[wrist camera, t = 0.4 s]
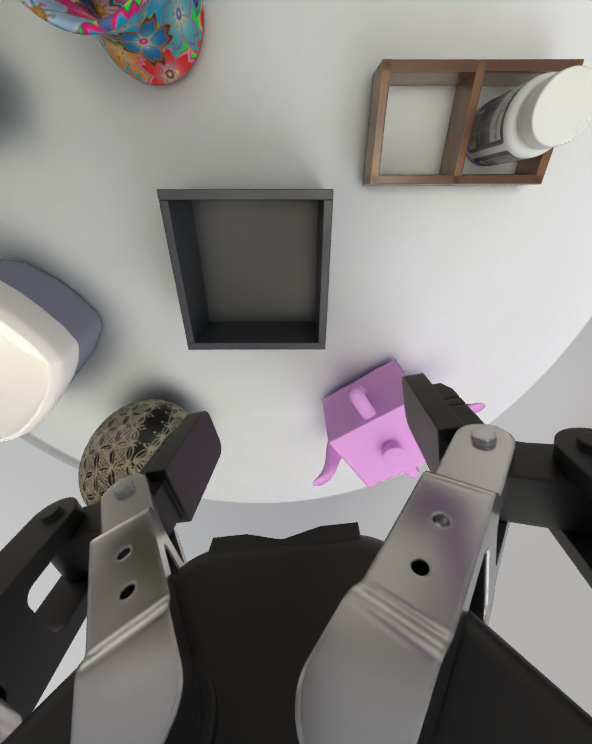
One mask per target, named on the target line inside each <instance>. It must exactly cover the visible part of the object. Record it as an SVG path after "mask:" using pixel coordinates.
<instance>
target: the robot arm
mask: <svg viewBox="0 0 592 744" xmlns="http://www.w3.org/2000/svg"><path fill="white" fill-rule="evenodd" d="M402 388H403V398H404V408H405V416H406V420H407V424H408V426H409V429H410V431H411V433H412V435H413V437H414V439H415V441H416V443H417V445H418V447H419V449H420V451H421V453H422V455H423V457H424V459H425V461H426V463H427V465H428V467H429V469H430V471H431V472H430V471H425V472H424V473H423V474H422V476H421V477H420V479H419V481H418V483H417V484H416V486H415V488H414V490H413V491H412V493H411V495H410V497H409V498H408V500H407V502H406V504H405V506H404V507H403V509H402V511H401V513H400V514H399V516H398V518H397V520H396V522H395V523H394V525H393V527H392V529H391V530H390V532H389V534H388V536H387V538H386V539H385V541H382V540H379V539H376V538H373V537H369V536H363V535H360V531H359V526H358V523H357V522H356V523H346V524H338V525H328V526H320V527H317V528H314V529H311V530H308V531H305V532H303V533H300V534H297V535H294V536H291V537H289V538H286V539H273V538H267V537H261V536H254V535H248V534H245V535H235V536H226V537H217V538H213V540H212V543H211V546H210V549H209V552H206V553H204V554H201V555H199V556H197V557H195V558H194V559H192V560H190V561H189V562H186V559H185V556H184V553H183V550H182V547H181V543H180V540H179V537H178V534H177V532H176V531H175V529H174V527H175V525H176V523H180V522H189V521H191V520H192V518H193V516H194V513H195V511H196V509H197V507H198V505H199V502H200V500H201V498H202V495H203V493H204V491H205V489H206V486H207V484H208V482H209V480H210V477H211V475H212V473H213V471H214V468H215V466H216V464H217V462H218V459H219V457H220V454H221V443H220V440H219V437H218V435H217V432H216V430H215V427H214V425H213V422H212V420H211V417H210V415H209V413H208V412H206V411H202V412H196V413H191V414H187V415H186V417H185V418H184V419H183V421H182V422H181V423H180V425H179V426H178V427H177V428H176V429H175V430H174V431H172V432H171V433H170V434H169V435H167V437H166V438H165V439H164V441H163V442H162V443H161V445H160V446H159V447H158V449H157V450H156V453H154V454H153V455H152V456H151V458H150V459H149V460H148V462H147V463H146V464H145V466H144V467H143V468H142V470H141V471H140V472H139V474H133V475H130V476H127V477H125V478H123V479H121V480H119V481H118V482H116V483H115V484H113V485H112V486H111V487H110V488H109V489H108V490H107V491H106V492H105V493H104V494H103V496H102V498H101V501H99V502H97V503H94V504H91V505H88V506H86V507H83V508H82V507H81V505H80V504H79V502H78V501H77V500H76V499H75V498H73V497H72V498H71V497H69V498H65V499H61V500H59V501H56V502H55V503H53V504H51V505H49V506H47V507H46V508H44V509H43V510H42V511H40V512H39V513H38V514H36V515H35V516H34V517H33V518H32V519H31V520H30V521H29V522H28V523H27V524H26V525H25V526H24V527H23V528H22V529H21V531H20V532H19V533H18V534H17V535H16V536H15V537H14V538H13V539H12V540H11V541H10V542H9V543H8V544H7V545H6V546H5V547H4V548H3V549H2V550H1V551H0V744H592V717H591V716H590V715H589V714H588V713H586V712H585V711H584V710H583V709H582V708H581V707H580V706H579V705H577V704H576V703H575V702H574V701H573V700H572V699H571V698H569V697H568V696H567V695H566V694H565V693H564V692H562V691H561V690H560V689H559V688H558V687H557V686H556V685H555V684H553V683H552V682H551V681H550V680H549V679H548V678H547V677H545V676H544V675H543V674H542V673H541V672H540V671H539V670H538V669H536V668H535V667H534V666H533V665H532V664H531V663H530V662H528V661H527V660H526V659H525V658H524V657H523V656H522V655H521V654H519V653H518V652H517V651H516V650H515V649H514V648H512V647H511V646H510V645H509V644H508V643H507V642H506V641H505V640H503V639H502V638H501V637H500V636H499V635H498V634H497V633H496V632H494V631H493V630H492V629H491V628H490V627H489V626H488V624H489V619H490V614H491V610H492V605H493V599H494V592H495V584H496V579H497V574H498V570H499V566H500V561H501V557H502V553H503V549H504V544H505V540H506V536H507V532H508V528H509V524H510V522H514V523H520V524H526V525H533V526H539V527H545V528H548V529H549V530H550V531H551V533H552V534H553V535H554V537H555V538H556V540H557V541H558V542H559V544H560V545H561V547H562V548H563V549H564V551H565V552H566V553H567V555H568V556H569V557H570V559H571V560H572V562H573V563H574V564H575V566H576V567H577V569H578V570H579V571H580V573H581V574H582V575H583V577H584V578H585V580H586V581H587V582H588V584H589V585H590V587H591V588H592V429H590V428H569V429H565V430H562V431H560V432H558V433H557V434H556V435H555V438H554V444H539V443H524V442H517V441H515V439H514V438H513V436H512V435H511V434H510V433H508V432H507V431H505V430H503V429H501V428H499V427H496V426H492V425H487V424H484V423H483V422H482V421H481V420H480V418H479V417H478V416H477V415H476V414H475V413H474V412H473V411H472V410H471V409H470V408H469V406H468V405H467V404H465V402H464V401H463V400H462V399H461V398H459V396H458V394H457V393H456V392H455V391H454V390H453V389H452V388H450V387H448V386H445V385H443V384H441V383H438V384H431V382H430V381H429V380H428V379H427V377H426V376H425V375H424V374H423V373H421V374H415V375H409V376H404V377H402ZM50 562H52V564H53V565H54V566H55V567H56V569H57V570H58V571H59V572H60V573H61V574H62V576H61V577H60V579H59V580H58V581H57V583H56V584H55V586H54V587H53V589H52V590H51V591H50V593H49V594H48V596H47V597H46V599H45V600H44V601H43V603H42V604H41V605H40V607H39V608H38V610H37V611H36V612H35V613H34V612H33V611H32V610H31V609H30V607H29V606H28V603H27V597H28V593H29V590H30V588H31V587H32V585H33V584H34V582H35V581H36V580H37V578H38V577H39V576H40V574H41V573H42V572H43V571H44V569H45V568H46V567H47V566H48V564H49V563H50ZM86 616H87V630H86V631H87V632H86V653H85V657H84V660H83V661H82V662H81V663H80V664H79V666H78V668H77V669H76V670H74V671H73V673H71V674H70V676H69V677H68V678H66V679H65V680H64V681H63V682H62V683H61V684H60V685H59V686H58V687H57V689H55V690H54V691H53V692H52V693H51V694H50V695H49V696H48V697H47V698H46V699H45V700H44V701H43V702H42V703H41V704H40V705H39V706H38V707H37V708H36V709H35V710H34V708H35V706H36V705H37V703H38V701H39V699H40V697H41V696H42V694H43V692H44V690H45V689H46V687H47V685H48V683H49V682H50V680H51V678H52V676H53V674H54V673H55V671H56V669H57V667H58V666H59V664H60V662H61V660H62V658H63V657H64V655H65V653H66V651H67V650H68V648H69V646H70V644H71V643H72V641H73V639H74V637H75V636H76V634H77V632H78V630H79V628H80V627H81V625H82V623H83V621H84V620H85V618H86ZM33 710H34V711H33Z"/></svg>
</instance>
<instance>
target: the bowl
mask: <svg viewBox="0 0 592 744" xmlns="http://www.w3.org/2000/svg"><path fill="white" fill-rule="evenodd" d="M101 327H102V321H101V318H100V317H99V315H98V314H97V313H96V312H95V310H94V309H93V308H92V307H90V306H89V305H88V304H87V303H86V302H85V301H84V300H83V299H82V298H81V297H80V296H78V295H77V294H76V293H75V292H74V291H72V290H71V289H70V288H69V287H67V286H66V285H65V284H63V283H62V282H60V281H58V280H57V279H55V278H54V277H52V276H50V275H48V274H46V273H44V272H42V271H40V270H38V269H37V268H35V267H33V266H31V265H28V264H25V263H23V262H18V261H7V260H0V441H8V440H12V439H14V438H17V437H19V436H22V435H24V434H26V433H29V432H30V431H31V430H33V429H34V428H35V427H36V426H37V425H39V424H40V423H41V422H42V420H43V419H44V418H45V417H46V416H47V415H48V414H49V412H50V411H51V410H52V409H53V407H54V406H55V405H56V403H57V402H58V400H59V399H60V398H61V396H62V395H63V393H64V392H65V391H66V389H67V387H68V386H69V384H70V383H71V381H72V380H73V378H74V377H75V376H76V374H77V373H78V371H79V370H80V369H81V367H82V366H83V364H84V363H85V362H86V360H87V359H88V357H89V356H90V355H91V353H92V352H93V350H94V348H95V346H96V344H97V342H98V339H99V335H100V332H101Z"/></svg>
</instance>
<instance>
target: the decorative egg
mask: <svg viewBox="0 0 592 744" xmlns="http://www.w3.org/2000/svg"><path fill="white" fill-rule="evenodd" d="M187 414H188V413H187V412H186V411H185V410H184V409H183V408H182V407H180V406H179V405H177V404H175V403H172V402H170V401H166V400H160V399H146V400H141V401H137V402H133V403H131V404H128V405H126V406H124V407H122V408H120V409H119V410H117V411H116V412H114V413H113V414H112V415H110V416H109V417H108V418H107V419H106V420H105V421H104V422H103V423H102V424H101V425H100V426H99V427H98V428H97V430H96V431H95V433H94V434H93V435H92V437H91V438H90V440H89V442H88V444H87V446H86V448H85V450H84V453H83V456H82V459H81V462H80V467H79V487H80V492H81V495H82V498H83V500H84V502H85V504H86V505H87V506H88V505H91V504H94V503H97V502H99V501H101V498H102V496H103V494H104V493H105V492H106V491H107V490H108V489H109V488H110V487H111V486H112V485H113V484H115V483H116V482H118V481H119V480H121V479H123V478H125V477H127V476H130V475H133V474H139V472H140V471H141V470H142V468H143V467H144V466H145V464H146V463H147V462H148V460H149V459H150V458H151V456H152V455H153V454H154V453H156V450H157V449H158V447H159V446H160V445H161V443H162V442H163V441H164V439H165V438H166V437H167V435H169V434H170V433H171V432H172V431H174V430H175V429H176V428H177V427H178V426H179V425H180V423H181V422H182V421H183V419H184V418H185V417H186V415H187Z"/></svg>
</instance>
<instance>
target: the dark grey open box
mask: <svg viewBox="0 0 592 744" xmlns="http://www.w3.org/2000/svg"><path fill="white" fill-rule="evenodd" d="M157 193H158V198H159V203H160V208H161V213H162V218H163V223H164V228H165V233H166V238H167V243H168V248H169V253H170V258H171V263H172V268H173V273H174V278H175V283H176V288H177V293H178V298H179V303H180V308H181V313H182V318H183V323H184V328H185V333H186V338H187V344H188V349H189V350H210V349H325V342H326V323H327V304H328V285H329V265H330V246H331V227H332V208H333V189H157Z"/></svg>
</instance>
